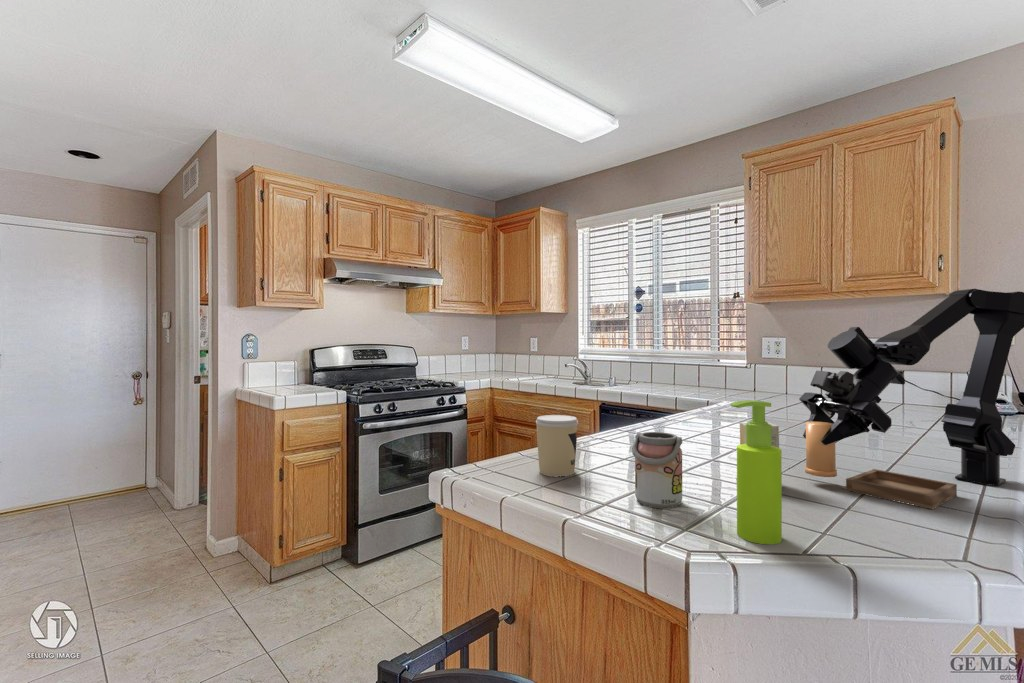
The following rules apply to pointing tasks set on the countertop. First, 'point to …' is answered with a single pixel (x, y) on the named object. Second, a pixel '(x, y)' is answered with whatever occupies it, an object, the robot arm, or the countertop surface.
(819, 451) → the peach dome-topped cylinder
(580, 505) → the countertop surface
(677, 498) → the printed pail with handle
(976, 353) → the robot arm
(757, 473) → the soap dispenser
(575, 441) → the coffee cup
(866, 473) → the walnut tray
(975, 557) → the countertop surface
